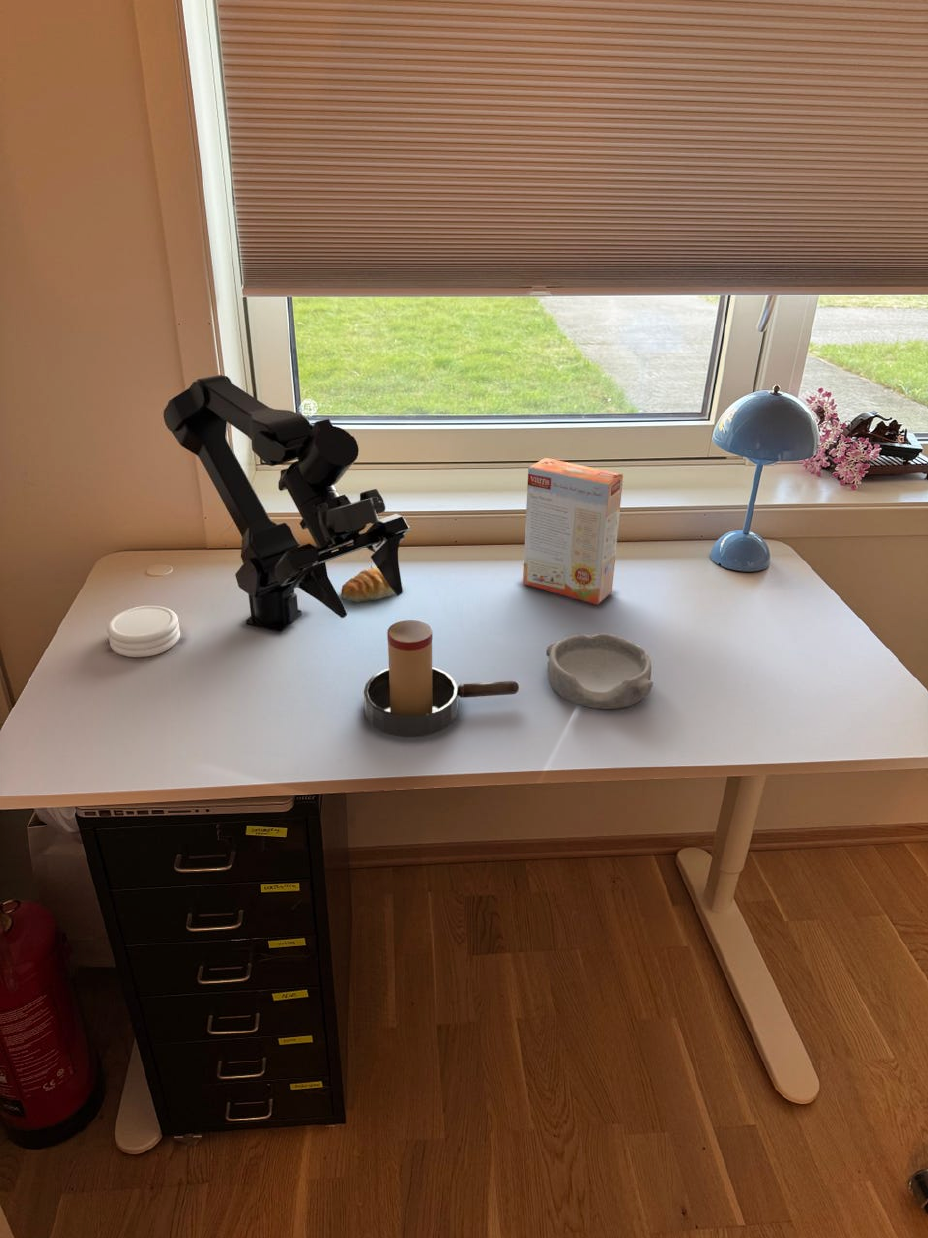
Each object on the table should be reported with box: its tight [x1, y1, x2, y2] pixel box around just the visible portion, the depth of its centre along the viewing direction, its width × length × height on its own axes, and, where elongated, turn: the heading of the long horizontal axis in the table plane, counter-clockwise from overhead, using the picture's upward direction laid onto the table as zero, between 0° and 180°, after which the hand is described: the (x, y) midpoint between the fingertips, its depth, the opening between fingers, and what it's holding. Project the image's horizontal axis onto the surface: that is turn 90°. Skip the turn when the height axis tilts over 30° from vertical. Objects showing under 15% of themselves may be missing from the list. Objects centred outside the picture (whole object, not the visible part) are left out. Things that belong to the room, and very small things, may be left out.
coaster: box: [106, 605, 181, 658], centre depth 137 cm, size 10×10×4 cm
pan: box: [363, 666, 459, 738], centre depth 123 cm, size 12×12×4 cm
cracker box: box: [522, 457, 624, 606], centre depth 149 cm, size 14×6×21 cm, turn 58°
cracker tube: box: [386, 619, 433, 715], centre depth 120 cm, size 6×6×12 cm
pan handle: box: [457, 680, 520, 699], centre depth 123 cm, size 8×2×2 cm, turn 98°
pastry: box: [340, 567, 396, 603], centre depth 151 cm, size 9×7×4 cm
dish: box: [545, 632, 654, 710], centre depth 128 cm, size 14×14×5 cm
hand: (373, 605), depth 122 cm, fingers open, 9 cm apart
